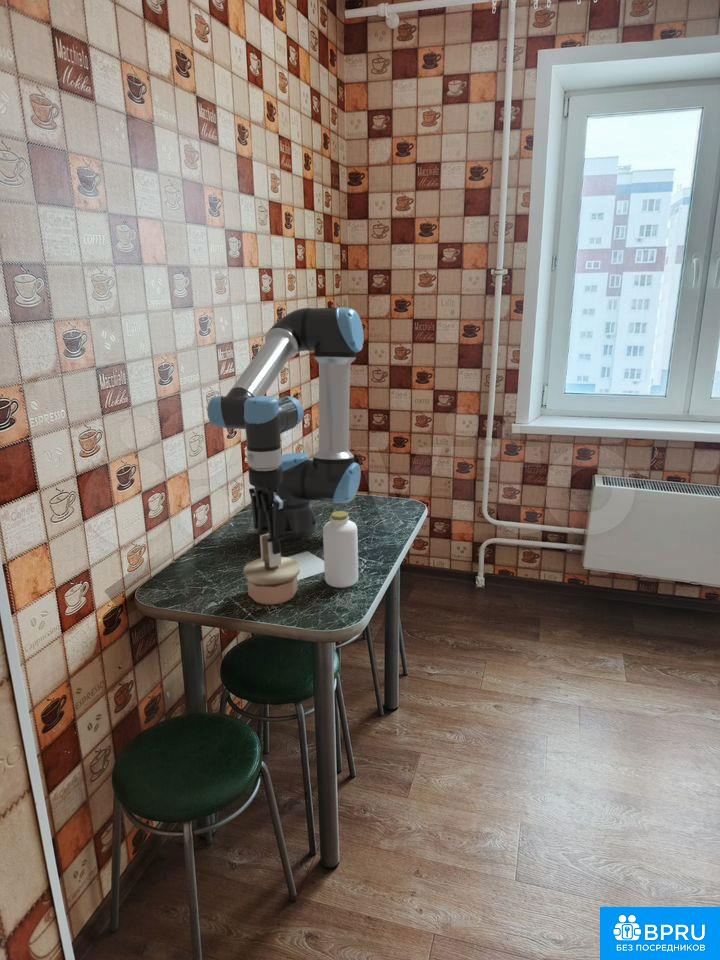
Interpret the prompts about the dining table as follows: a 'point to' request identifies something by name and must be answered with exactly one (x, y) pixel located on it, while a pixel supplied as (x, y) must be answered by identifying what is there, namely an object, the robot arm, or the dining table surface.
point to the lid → (270, 569)
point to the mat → (308, 564)
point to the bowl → (272, 592)
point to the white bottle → (340, 551)
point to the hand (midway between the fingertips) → (271, 562)
